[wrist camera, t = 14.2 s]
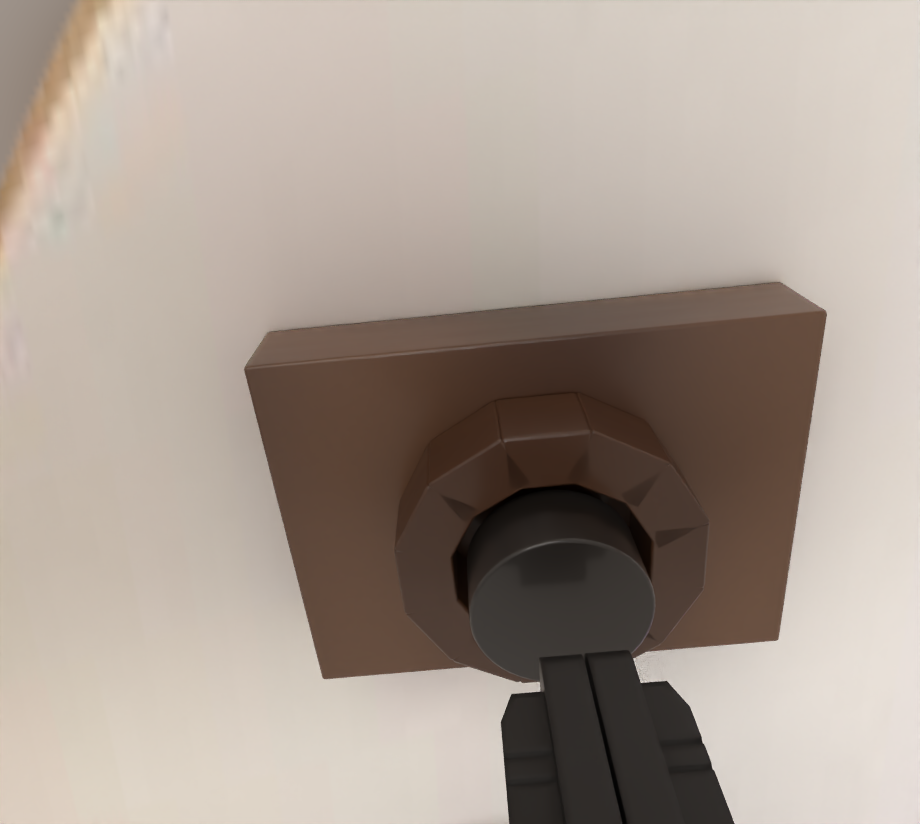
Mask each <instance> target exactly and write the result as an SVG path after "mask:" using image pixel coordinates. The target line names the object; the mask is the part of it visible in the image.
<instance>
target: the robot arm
mask: <svg viewBox="0 0 920 824" xmlns="http://www.w3.org/2000/svg"><path fill="white" fill-rule="evenodd" d="M539 675H540V691H541V692H532V693H520V694H511V697H510V699H509V702H508V705H507V707H506V710H505V713H504V715H503V718H502V721H501V729H502V741H503V753H504V765H505V777H506V789H507V801H508V813H509V824H734V821H733V819H732V816H731V813H730V811H729V808H728V806H727V803H726V800H725V798H724V795H723V792H722V790H721V787H720V785H719V782H718V779H717V777H716V774H715V771H714V770H713V769H712V765H711V761H710V758H709V756H708V753H707V750H706V748H705V745H704V744H703V743H702V737H701V735H700V732H699V730H698V727H697V724H696V722H695V719H694V716H693V714H692V711H691V709H690V706H689V705H688V704H687V703H686V702H685V701H684V700H683V699H682V697H681V696H680V695H679V694H678V693H677V692H676V691H675V690H674V689H673V687H672V686H671V685H670V684H669V683H668V682H667V681H661V682H649V683H640V679H639V676H638V673H637V670H636V667H635V664H634V660H633V658H632V655H631V653H630V651H629V650H619V651H608V652H596V653H585V655H584V658H583V655H582V654H575V655H563V656H551V657H539Z"/></svg>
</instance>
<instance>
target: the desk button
mask: <svg viewBox="0 0 920 824" xmlns="http://www.w3.org/2000/svg"><path fill="white" fill-rule="evenodd" d="M467 581H468V603H469V622H470V627H471V631H472V634H473V637H474V639H475V641H476V643H477V644H478V646H479V648H480V649H481V650H482V652H483V653H484V654H485V655H486V656H487V657H488V658H489V659H490V660H491V661H492V662H493V663H494V664H496V665H497V666H499V667H500V668H502V669H504V670H505V671H507V672H509V673H511V674H514V675H517V676H519V677H522V678H526V679H530V680H535V681H540V675H539V657H551V656H563V655H575V654H582V655H583V658H584V655H585V653H596V652H608V651H619V650H629V651H630V653H631V654H632V653H633V652H634V651H635V650H636V649H637V648H638V647H639V646H640V644H641V643H642V642H643V640H644V639H645V637H646V636H647V634H648V632H649V630H650V628H651V625H652V622H653V618H654V613H655V594H654V589H653V586H652V583H651V581H650V578H649V576H648V573H647V571H646V568H645V566H644V563H643V561H642V558H641V556H640V553H639V551H638V549H637V546H636V544H635V541H634V539H633V536H632V534H631V531H630V529H629V527H628V525H627V524H626V522H625V521H624V519H623V518H622V517H621V516H620V515H619V513H618V512H616V511H615V510H614V509H613V508H612V507H611V506H609V505H607V504H606V503H604V502H603V501H601V500H599V499H597V498H595V497H593V496H590V495H587V494H584V493H581V492H576V491H570V490H544V491H537V492H533V493H529V494H525V495H522V496H520V497H517V498H514V499H512V500H511V501H509V502H507V503H505V504H503V505H502V506H500V507H499V508H497V509H496V510H495V511H493V512H492V513H491V514H490V515H489V516H488V517H487V518H486V519H485V520H484V521H483V522H482V524H481V525H480V526H479V528H478V529H477V531H476V532H475V534H474V536H473V538H472V540H471V542H470V545H469V549H468V554H467Z"/></svg>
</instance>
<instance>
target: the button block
mask: <svg viewBox="0 0 920 824" xmlns="http://www.w3.org/2000/svg"><path fill="white" fill-rule="evenodd" d="M826 316H827V313H826V311H825V310H824V309H822V308H820V307H819V306H817V305H816V304H814V303H813V302H811V301H809V300H808V299H806V298H805V297H803V296H801V295H800V294H798V293H797V292H795V291H794V290H792V289H790V288H789V287H787V286H786V285H784V284H783V283H780V282H777V283H767V284H756V285H746V286H736V287H726V288H715V289H705V290H695V291H685V292H674V293H664V294H654V295H644V296H633V297H623V298H613V299H603V300H593V301H582V302H572V303H562V304H552V305H541V306H531V307H521V308H511V309H500V310H490V311H480V312H470V313H459V314H449V315H439V316H429V317H419V318H408V319H398V320H388V321H378V322H367V323H357V324H347V325H337V326H326V327H316V328H306V329H296V330H285V331H275V332H269V333H267V334H266V336H265V337H264V339H263V340H262V342H261V343H260V345H259V346H258V348H257V349H256V351H255V352H254V354H253V355H252V357H251V358H250V360H249V361H248V363H247V364H246V366H245V368H244V371H245V375H246V379H247V383H248V386H249V390H250V394H251V398H252V402H253V406H254V410H255V414H256V418H257V422H258V426H259V430H260V434H261V438H262V441H263V445H264V449H265V453H266V457H267V461H268V465H269V469H270V473H271V477H272V481H273V485H274V489H275V493H276V496H277V500H278V504H279V508H280V512H281V516H282V520H283V524H284V528H285V532H286V536H287V540H288V544H289V548H290V551H291V555H292V559H293V563H294V567H295V571H296V575H297V579H298V583H299V587H300V591H301V595H302V599H303V603H304V606H305V610H306V614H307V618H308V622H309V626H310V630H311V634H312V638H313V642H314V646H315V650H316V654H317V658H318V661H319V665H320V669H321V673H322V677H323V679H333V678H344V677H356V676H368V675H379V674H391V673H403V672H414V671H426V670H438V669H450V668H461V667H471V668H475V669H478V670H481V671H484V672H487V673H490V674H493V675H497V676H500V677H503V678H506V679H509V680H512V681H515V682H520V681H521V682H522V683H529V682H540V681H535V680H530V679H526V678H522V677H519V676H517V675H514V674H511V673H509V672H507V671H505V670H504V669H502V668H500V667H499V666H497V665H496V664H494V663H493V662H492V661H491V660H490V659H489V658H488V657H487V656H486V655H485V654H484V653H483V652H482V650H481V649H480V648H479V646H478V644H477V643H476V641H475V639H474V637H473V634H472V631H471V627H470V622H469V603H468V581H467V554H468V549H469V545H470V542H471V540H472V538H473V536H474V534H475V532H476V531H477V529H478V528H479V526H480V525H481V524H482V522H483V521H484V520H485V519H486V518H487V517H488V516H489V515H490V514H491V513H492V512H493V511H495V510H496V509H497V508H499V507H500V506H502V505H503V504H505V503H507V502H509V501H511V500H512V499H514V498H517V497H520V496H522V495H525V494H529V493H533V492H537V491H544V490H570V491H576V492H581V493H584V494H587V495H590V496H593V497H595V498H597V499H599V500H601V501H603V502H604V503H606V504H607V505H609V506H611V507H612V508H613V509H614V510H615V511H616V512H618V513H619V515H620V516H621V517H622V518H623V519H624V521H625V522H626V524H627V525H628V527H629V529H630V531H631V534H632V536H633V539H634V541H635V544H636V546H637V549H638V551H639V553H640V556H641V558H642V561H643V563H644V566H645V568H646V571H647V573H648V576H649V578H650V581H651V583H652V586H653V589H654V594H655V613H654V618H653V622H652V625H651V628H650V630H649V632H648V634H647V636H646V637H645V639H644V640H643V642H642V643H641V644H640V646H639V647H638V648H637V649H636V650H635V651H634V652H633V653H632V654H631V655H632V658H635V657H637V656H639V655H641V654H643V653H645V652H648V651H660V650H672V649H683V648H695V647H707V646H718V645H730V644H742V643H754V642H765V641H776V640H778V638H779V632H780V625H781V618H782V611H783V605H784V598H785V591H786V585H787V578H788V571H789V564H790V558H791V551H792V544H793V538H794V531H795V524H796V517H797V511H798V504H799V497H800V491H801V484H802V477H803V470H804V464H805V457H806V450H807V444H808V437H809V430H810V423H811V417H812V410H813V403H814V397H815V390H816V383H817V376H818V370H819V363H820V356H821V349H822V343H823V336H824V329H825V323H826Z"/></svg>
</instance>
